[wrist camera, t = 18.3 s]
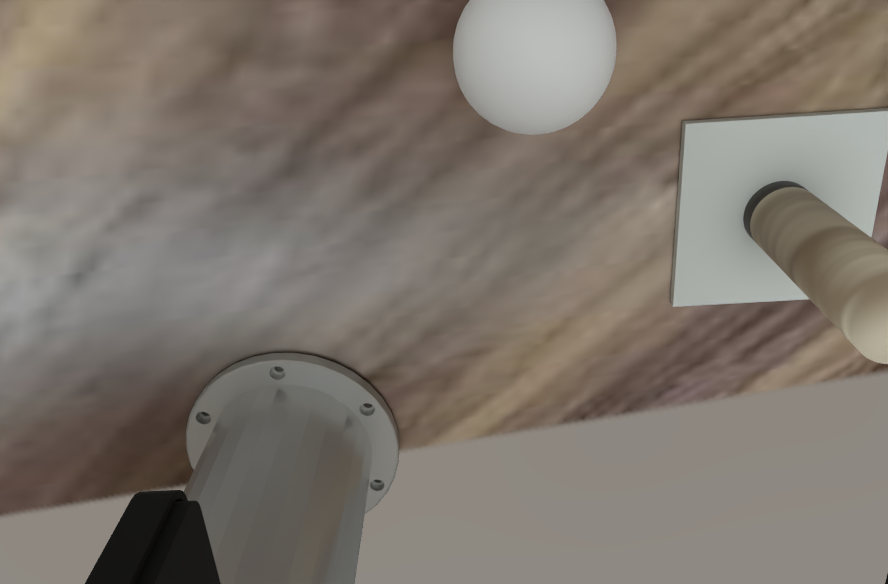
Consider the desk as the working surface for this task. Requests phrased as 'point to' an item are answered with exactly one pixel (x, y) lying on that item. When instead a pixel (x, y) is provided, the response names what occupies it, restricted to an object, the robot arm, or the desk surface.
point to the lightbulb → (534, 61)
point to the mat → (745, 172)
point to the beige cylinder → (825, 261)
